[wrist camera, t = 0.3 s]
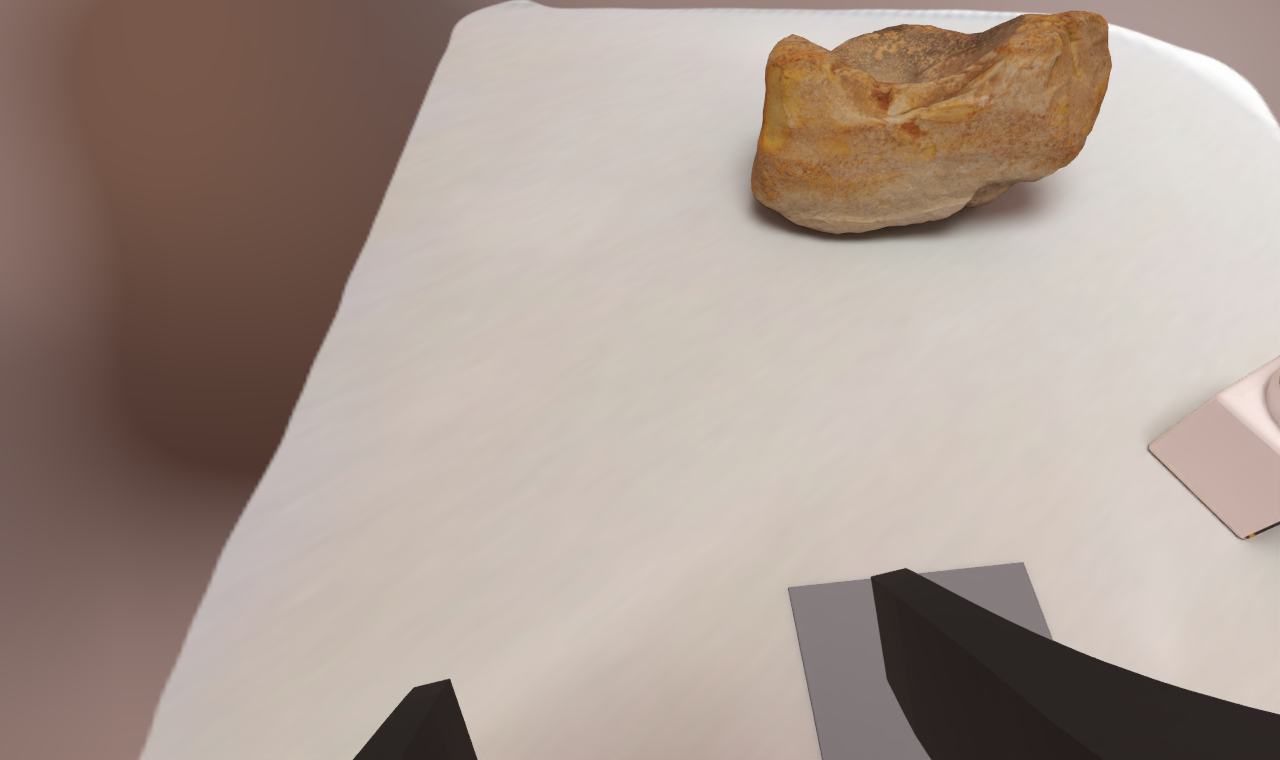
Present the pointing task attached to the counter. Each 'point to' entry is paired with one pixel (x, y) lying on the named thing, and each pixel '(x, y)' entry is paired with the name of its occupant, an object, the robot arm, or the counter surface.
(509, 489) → the counter surface
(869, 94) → the rough brown rock
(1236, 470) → the medicine bottle
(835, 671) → the mat
